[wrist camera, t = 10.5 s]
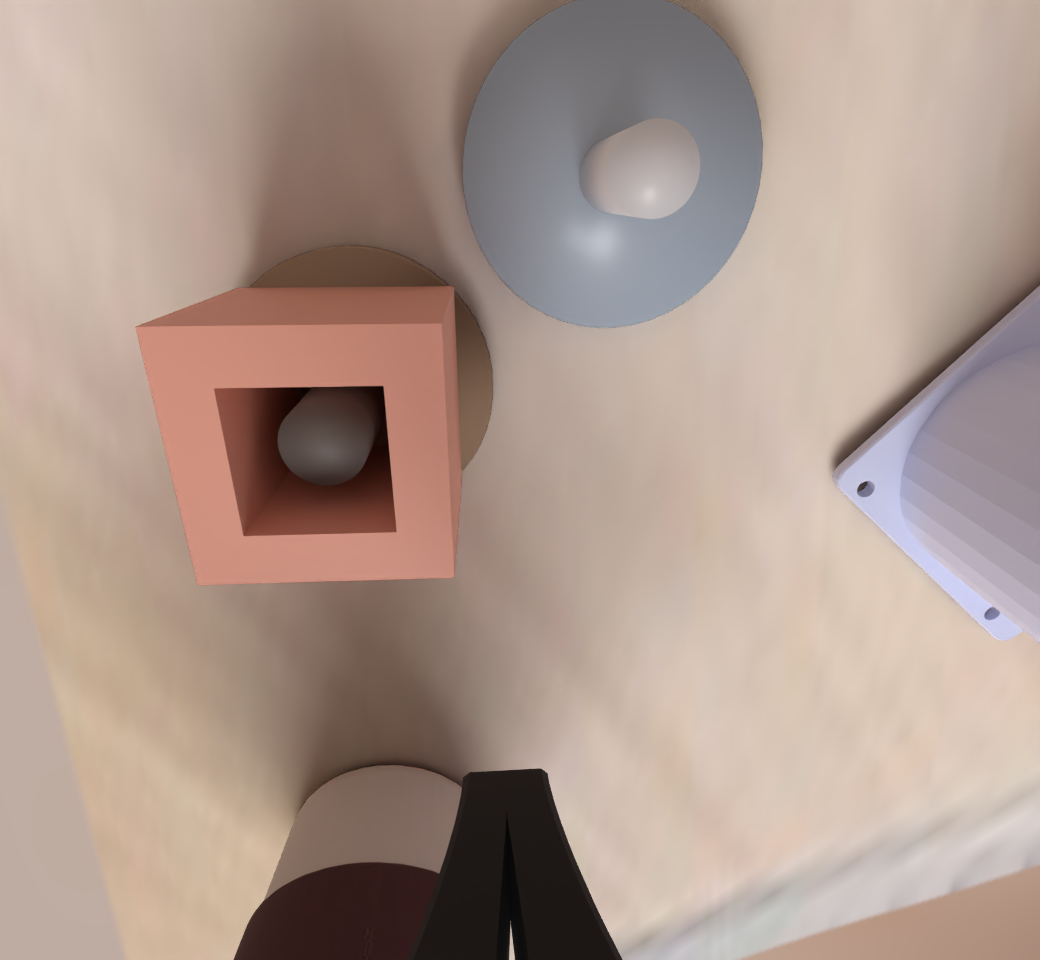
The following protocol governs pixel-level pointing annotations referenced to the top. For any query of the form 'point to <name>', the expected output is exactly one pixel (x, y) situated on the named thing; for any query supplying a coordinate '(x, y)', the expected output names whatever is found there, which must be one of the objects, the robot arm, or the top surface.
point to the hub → (361, 409)
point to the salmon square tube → (271, 397)
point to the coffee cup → (357, 868)
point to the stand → (612, 161)
